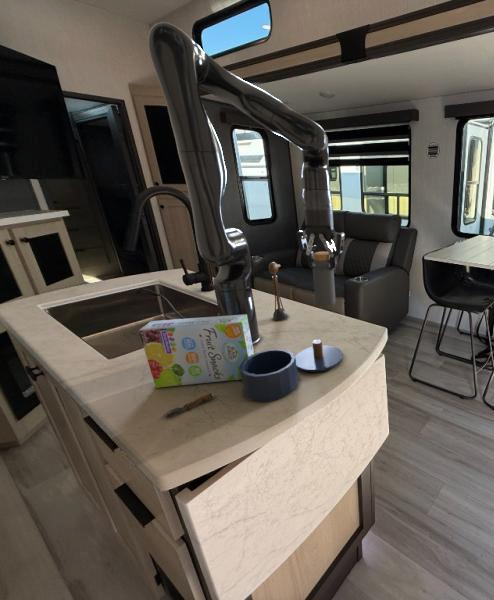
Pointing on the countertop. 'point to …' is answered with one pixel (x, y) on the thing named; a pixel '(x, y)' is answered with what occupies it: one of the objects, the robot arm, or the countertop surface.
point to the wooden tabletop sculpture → (277, 293)
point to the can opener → (191, 404)
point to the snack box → (196, 349)
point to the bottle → (323, 280)
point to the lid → (318, 357)
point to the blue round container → (269, 375)
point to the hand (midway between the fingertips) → (322, 268)
